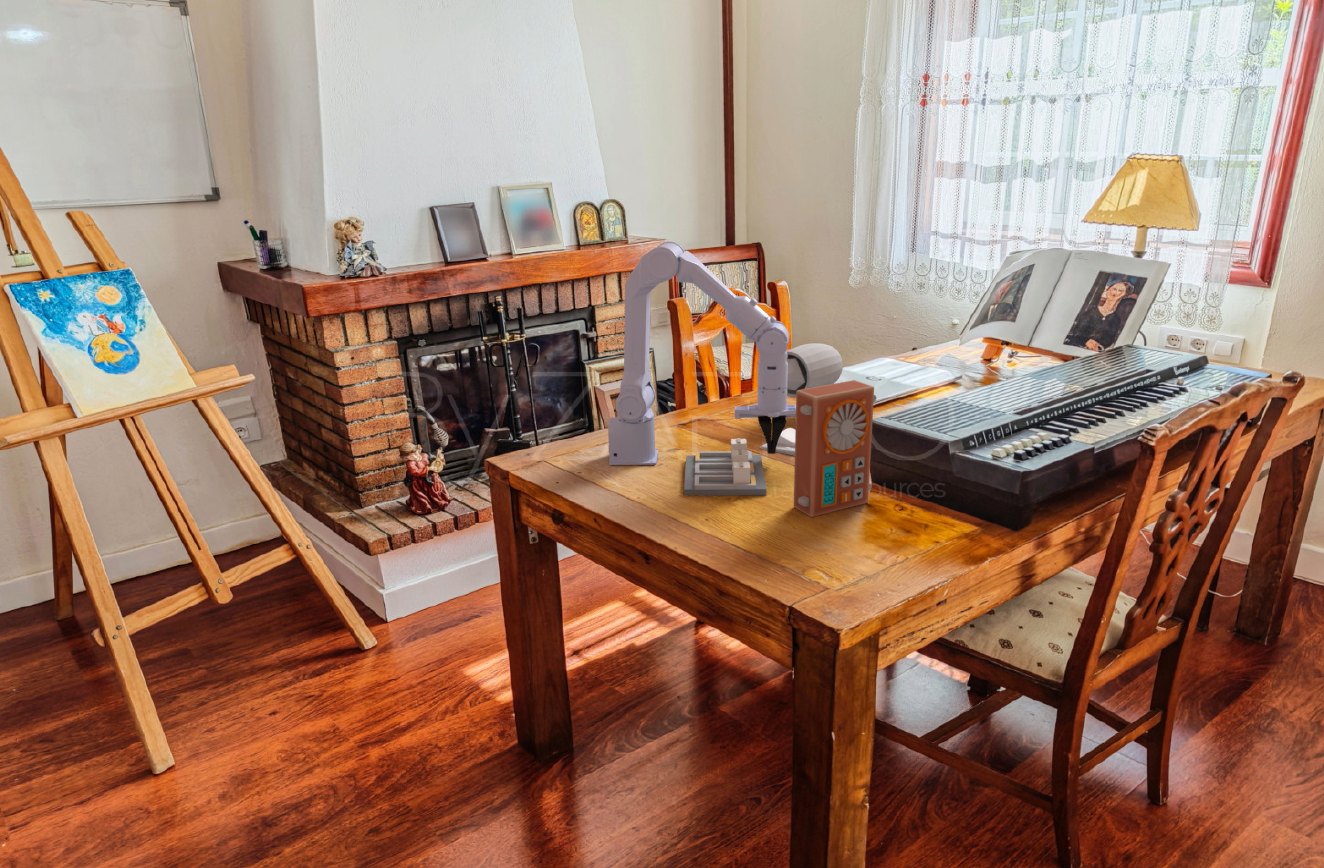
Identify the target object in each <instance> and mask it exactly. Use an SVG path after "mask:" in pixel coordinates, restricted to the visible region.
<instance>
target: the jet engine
mask: <svg viewBox="0 0 1324 868" xmlns="http://www.w3.org/2000/svg"><path fill="white" fill-rule="evenodd" d="M787 363H788V377H787V398H794V399H796V391H797V390H802V389H808V388H813V387H819V386H824V385H830V384H835V383H837V381H838V380H839V379H840V377H841V375H842V373H843V368H844V364H843V363H844V362H843V359H842V356H841V354H840V353H839V351H838V350H837V349H835V347H834V346H831V345H829V344H825V343H819V342H818V343H814V342H813V343H805V344H802V345H801V344H800V345H798V346H795V347H793V348H790V349H787Z"/></svg>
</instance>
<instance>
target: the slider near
mask: <svg viewBox="0 0 1324 868" xmlns="http://www.w3.org/2000/svg"><path fill="white" fill-rule="evenodd" d="M733 484H750V462H743V461H740V462H733Z"/></svg>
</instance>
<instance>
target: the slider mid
mask: <svg viewBox="0 0 1324 868" xmlns="http://www.w3.org/2000/svg"><path fill="white" fill-rule="evenodd" d="M748 451H749V450H748V449H747V450H741V449H738V450H732V471H733V462H740V461H743V462H748Z"/></svg>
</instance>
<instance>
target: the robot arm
mask: <svg viewBox="0 0 1324 868" xmlns="http://www.w3.org/2000/svg"><path fill="white" fill-rule="evenodd" d="M675 276H677V277H676V280H675V282H677V283H684V284H685V283H686V284H693V285H694V286H695V287H697V288H698V289H699V290H701V291H702V292H703V293H704V294H706V295H707V296H708V297H709V298H710V299H712V300H713V301H714V302H716V303H717V304H718V305H720V306H721V308H722V309H724V310H725V318H726V320H727V321H728V322H729V323H730V324H731V325H733V326H734V328H736V329H737V330H738V331H739V332H740V333H742V334H743V335H744V336H745V337H746V338H747V339H749V340H750V341H752V342H754V343H755V346H756V349H757V351H758V362H757V397H756V398H757V399H756V400H757V404H752V405H743V406H742V405H741V406H734V419H735V420H740V419H742V418H743V419H744V418H745V419H749V418H750V419H751V418H755V419H757V421H758V424H759V427H760V429H761V431H762V433H763V436H764V438H765V441H766V443H767V450H766V451H767V454H768V455H775V454H776V452H775V451H776V446H777V443H778V440H779V437H780V435H781V433H782V431H783V430H785V427H786V424H787V418H796V404H788V396H787V377H788V363H787V351H788V346H789V341H790V333H789V330H788V329H787V327H786V326H785V324H784V322H782V321H779V320H777V318H776V317H775V316H773V315H772V316H770V315H769V314H768V313H767V312H766V311H764V310H763V309H762V308H761V307H760V306H759V305H758V300H757V299H755V298H754V297H752V298H749V297H748V296H747V295H741V296H739V295H736V294H735V293H734V292H733V291H731V289H730V288H729V287H728V286H727V285H725V283H723V282H722V280H720V279H719V278H718V277H717V276H716V275H715V274H714V273H713V272H712V271H711V270H709V268H708V267H707V266H706V265H704V264H703V263H702V261H700V259H698V258H697V257H696V256H695V255H694V254H693V253H692V252H690V251H688V250H685V249H684V248H683V246H682V245H681V244H679V243H677V242H675V241H664V242H663V243H660V244H659V245H658V246H656V247H654V248H652V249H651V250H649V251H648V252H647V253H645V254H644V255H643V256H641V258H640V259H639V261H638V263H637V265H636V266H635V267H634V269H633V270H632V271H631V273H630V275H629V276H628V277H627V279H626V280H625V285H624V334H623V335H624V337H623V338H624V341H623V344H624V347H623V349H624V350H623V359H624V360H623V374H622V378H621V382H620V386H619V387H620V388H619V391H620V392H619V393H618V397H617V398H616V400H615V410H616V413H617V416H615V417H609V418H608V424H607V425H608V427H607V430H608V431H607V434H608V435H607V437H608V453H609V454H608V456H609V459H608V460H609V462H608V463H609V465H610V466H630V465H631V466H633V465H635V466H650V465H651V466H652V465H653V466H654V465H657V463H658V455H659V450H658V449H656V435H655V414H654V412H653V410H652V408H651V407H652V405H653V404H654V402H655V400H656V391H655V388H654V386H653V384H652V373H651V372H650V371H651V370H650V348H651V347H650V342H651V341H650V337H651V336H650V335H651V305H652V304H651V301H652V300H651V299H652V298H651V297H652V295H651V294H652V291H653V290H654V289H656V287H658V286H659V285H660V284H662V283H664V282H668V281H669V280H671V279H672V278H673V277H675Z"/></svg>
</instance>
